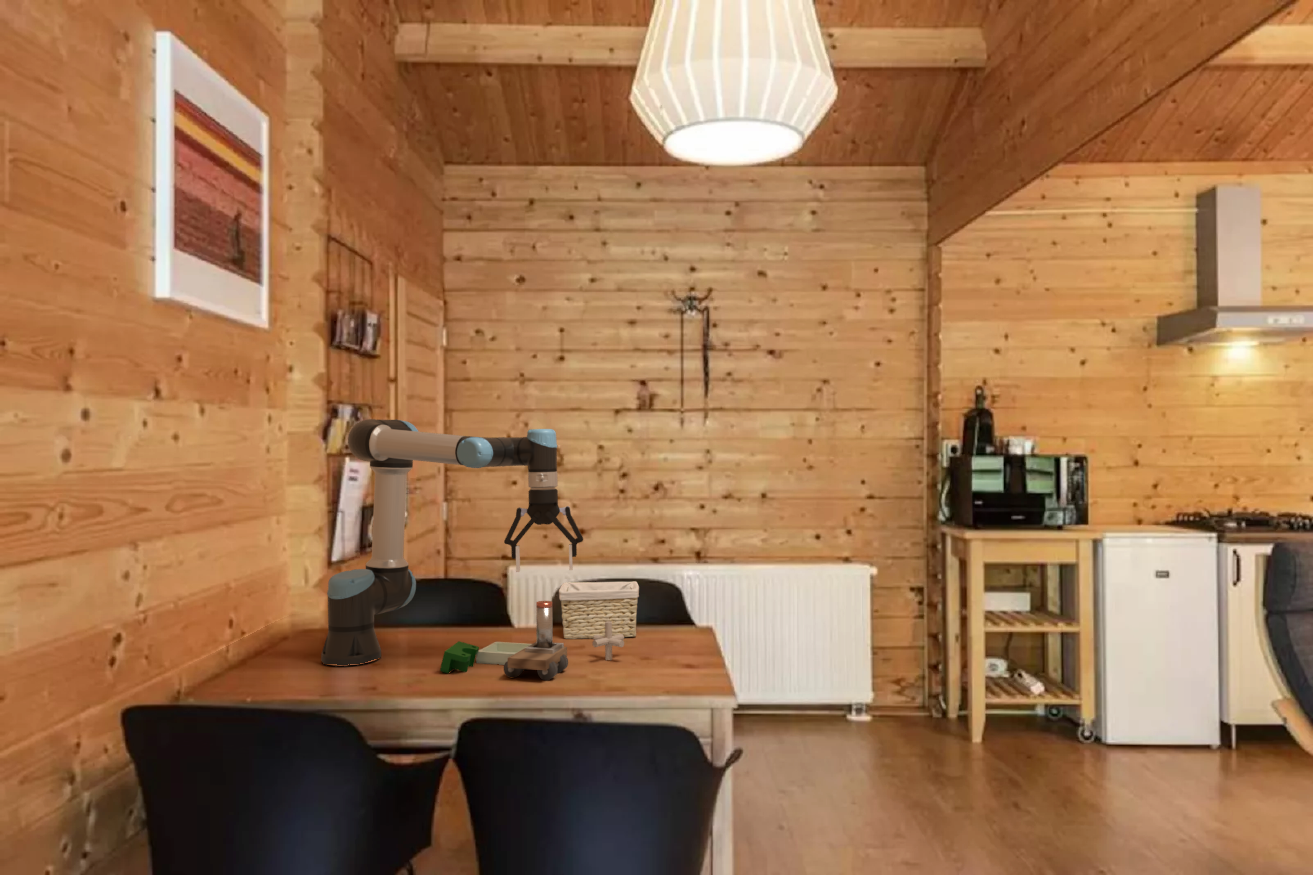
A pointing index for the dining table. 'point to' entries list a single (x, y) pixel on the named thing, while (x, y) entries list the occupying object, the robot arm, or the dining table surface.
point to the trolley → (538, 661)
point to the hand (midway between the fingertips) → (544, 570)
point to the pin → (544, 624)
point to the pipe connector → (608, 640)
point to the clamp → (459, 657)
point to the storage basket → (598, 608)
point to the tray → (498, 652)
